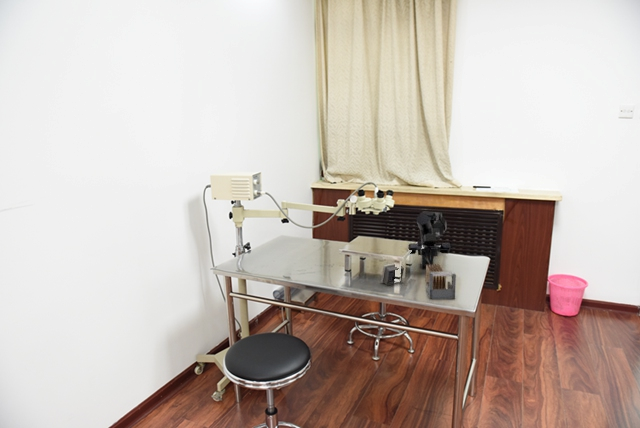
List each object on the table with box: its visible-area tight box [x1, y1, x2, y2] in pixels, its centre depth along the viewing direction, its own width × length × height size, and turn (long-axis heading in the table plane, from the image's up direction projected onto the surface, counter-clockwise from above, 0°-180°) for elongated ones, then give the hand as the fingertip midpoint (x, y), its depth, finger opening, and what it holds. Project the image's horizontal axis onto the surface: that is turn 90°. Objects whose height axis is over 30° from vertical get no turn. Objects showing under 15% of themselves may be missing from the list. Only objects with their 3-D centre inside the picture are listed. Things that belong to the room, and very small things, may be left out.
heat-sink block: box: [424, 263, 447, 289], centre depth 175 cm, size 14×6×8 cm, turn 176°
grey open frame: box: [425, 271, 457, 300], centre depth 165 cm, size 9×10×10 cm
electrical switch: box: [380, 262, 405, 286], centre depth 180 cm, size 9×5×9 cm, turn 113°
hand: (431, 265), depth 183 cm, fingers closed
